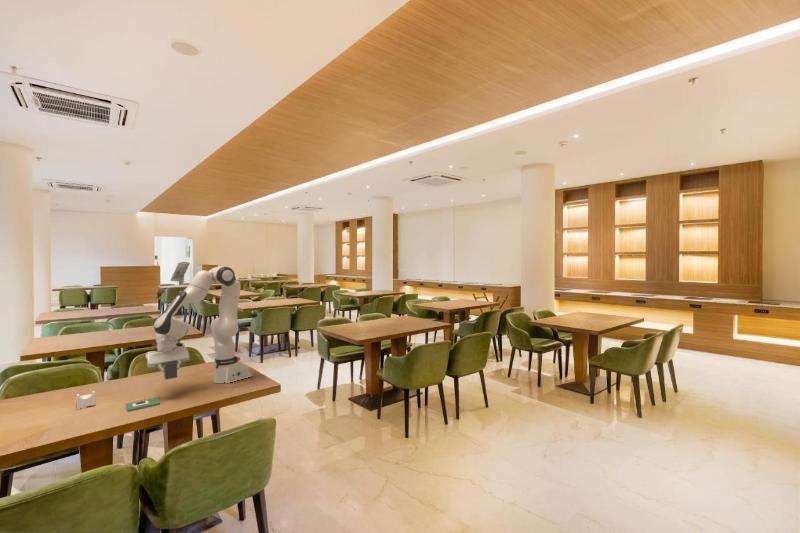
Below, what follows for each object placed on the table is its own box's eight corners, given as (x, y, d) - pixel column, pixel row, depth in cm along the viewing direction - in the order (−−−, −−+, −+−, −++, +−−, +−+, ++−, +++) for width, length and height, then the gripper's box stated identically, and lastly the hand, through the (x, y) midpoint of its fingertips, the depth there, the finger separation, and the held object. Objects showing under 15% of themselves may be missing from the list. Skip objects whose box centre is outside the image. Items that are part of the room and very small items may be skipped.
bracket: (95, 406, 200) (94, 392, 200) (77, 410, 195) (76, 395, 195) (93, 399, 210) (93, 386, 209) (76, 403, 205) (76, 389, 205)
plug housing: (176, 375, 211) (175, 361, 211) (177, 377, 209) (176, 362, 208) (164, 378, 208) (163, 363, 207) (165, 379, 205) (164, 365, 205)
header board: (156, 398, 208) (156, 391, 208) (160, 404, 200) (159, 397, 200) (125, 405, 199) (125, 398, 199) (127, 411, 191) (127, 404, 191)
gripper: (145, 349, 206) (148, 371, 199) (187, 342, 219) (191, 363, 212) (144, 355, 210) (147, 377, 203) (186, 349, 223) (190, 369, 216)
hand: (170, 370), depth 208 cm, fingers closed on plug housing, 6 cm apart
